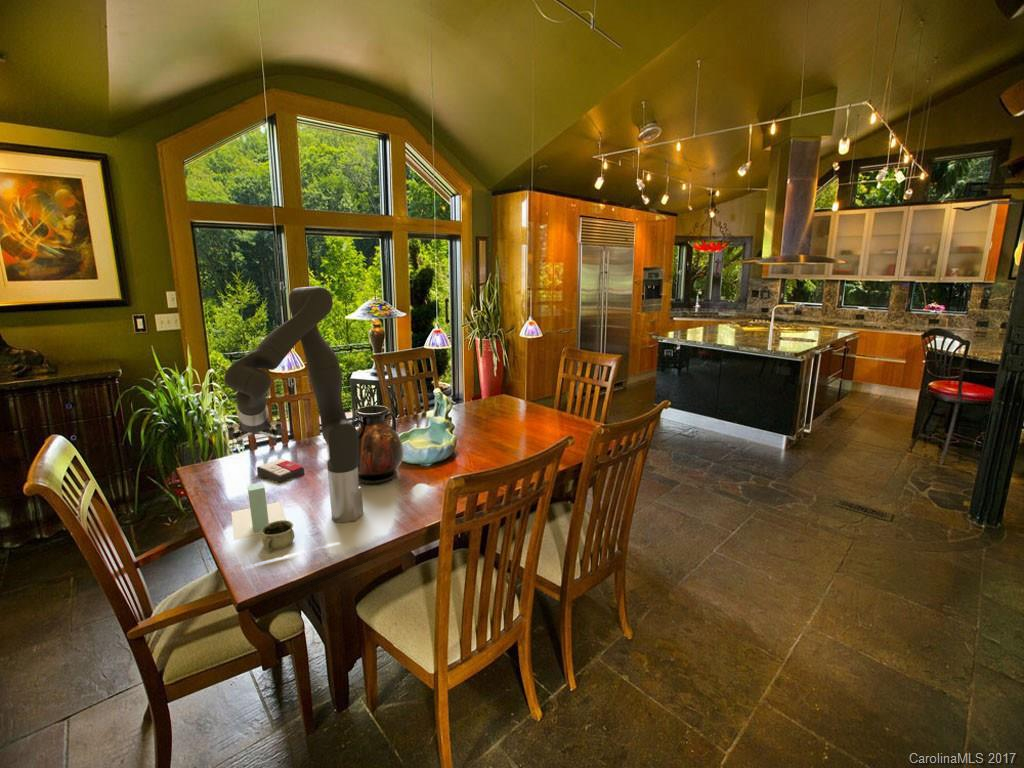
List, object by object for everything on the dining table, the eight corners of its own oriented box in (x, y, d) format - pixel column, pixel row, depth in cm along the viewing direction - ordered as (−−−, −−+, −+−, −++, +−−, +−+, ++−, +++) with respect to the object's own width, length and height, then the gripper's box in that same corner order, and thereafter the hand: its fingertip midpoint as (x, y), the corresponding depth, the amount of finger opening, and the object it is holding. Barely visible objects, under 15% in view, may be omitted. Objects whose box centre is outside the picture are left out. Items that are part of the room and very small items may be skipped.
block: (269, 529, 155) (264, 487, 151) (253, 532, 152) (248, 490, 149) (267, 523, 158) (263, 482, 155) (252, 526, 156) (247, 485, 153)
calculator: (279, 475, 189) (256, 465, 196) (279, 485, 190) (257, 475, 197) (304, 466, 198) (281, 456, 205) (305, 475, 199) (282, 466, 206)
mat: (288, 528, 156) (288, 526, 156) (234, 541, 149) (234, 539, 149) (280, 503, 173) (280, 501, 173) (231, 514, 165) (231, 512, 165)
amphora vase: (386, 462, 210) (383, 399, 203) (415, 478, 195) (412, 409, 188) (338, 477, 195) (332, 409, 189) (365, 494, 180) (360, 421, 174)
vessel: (276, 535, 153) (274, 516, 151) (304, 536, 152) (302, 518, 151) (253, 557, 141) (250, 537, 140) (282, 558, 140) (280, 538, 139)
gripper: (280, 400, 143) (282, 428, 156) (224, 404, 137) (230, 433, 150) (281, 423, 140) (283, 450, 152) (223, 427, 134) (230, 455, 146)
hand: (257, 441), depth 151 cm, fingers open, 8 cm apart
